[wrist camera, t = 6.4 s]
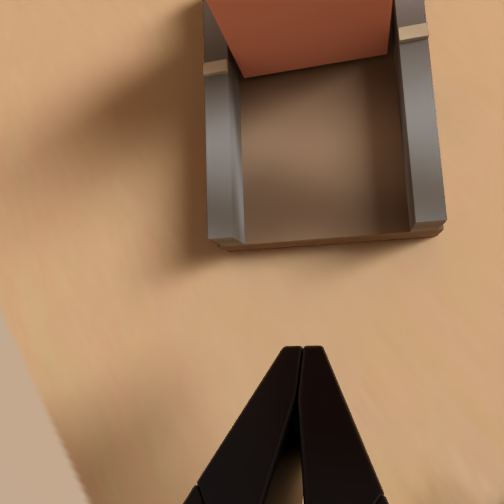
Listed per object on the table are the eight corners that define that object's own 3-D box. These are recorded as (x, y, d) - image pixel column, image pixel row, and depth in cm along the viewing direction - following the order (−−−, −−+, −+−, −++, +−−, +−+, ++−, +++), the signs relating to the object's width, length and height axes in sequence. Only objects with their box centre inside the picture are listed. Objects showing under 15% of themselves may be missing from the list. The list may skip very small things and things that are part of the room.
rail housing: (436, 236, 18) (454, 217, 14) (227, 251, 20) (201, 238, 17) (407, -53, 20) (417, -128, 16) (220, -12, 22) (195, -70, 19)
